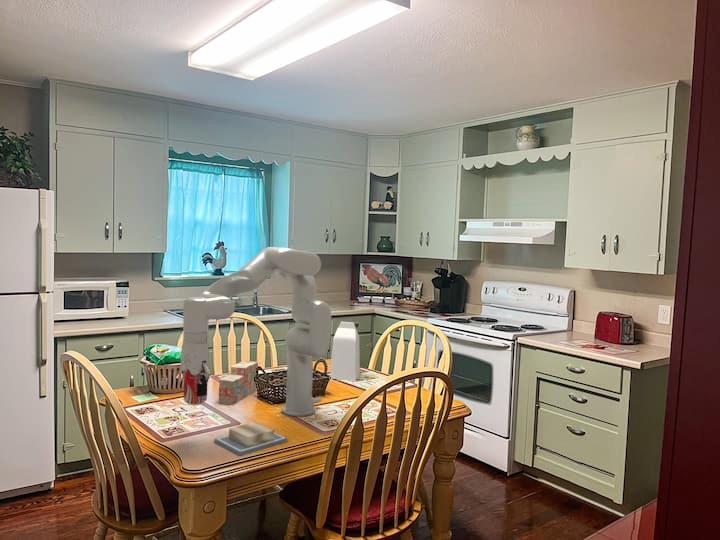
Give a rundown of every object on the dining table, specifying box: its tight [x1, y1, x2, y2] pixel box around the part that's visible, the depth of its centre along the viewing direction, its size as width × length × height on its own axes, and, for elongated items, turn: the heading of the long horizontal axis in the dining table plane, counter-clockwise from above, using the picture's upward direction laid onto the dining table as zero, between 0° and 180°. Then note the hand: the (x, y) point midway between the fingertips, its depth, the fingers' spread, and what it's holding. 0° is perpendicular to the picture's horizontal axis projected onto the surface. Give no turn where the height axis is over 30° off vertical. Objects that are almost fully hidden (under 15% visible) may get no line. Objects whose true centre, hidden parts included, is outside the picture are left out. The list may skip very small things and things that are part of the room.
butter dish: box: [213, 421, 289, 456], centre depth 177 cm, size 18×14×4 cm
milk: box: [329, 321, 361, 381], centre depth 260 cm, size 12×12×26 cm
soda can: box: [183, 367, 208, 406], centre depth 176 cm, size 7×7×12 cm
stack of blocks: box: [218, 360, 259, 405], centre depth 224 cm, size 21×6×12 cm, turn 165°
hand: (195, 392), depth 177 cm, fingers closed on soda can, 7 cm apart
